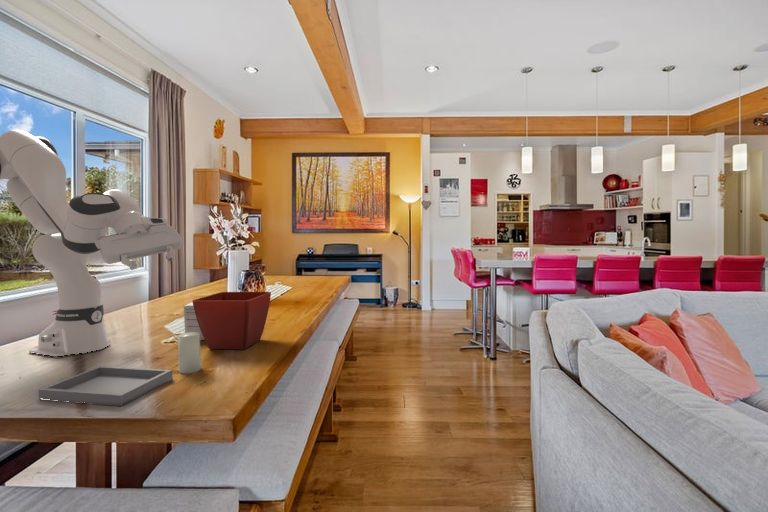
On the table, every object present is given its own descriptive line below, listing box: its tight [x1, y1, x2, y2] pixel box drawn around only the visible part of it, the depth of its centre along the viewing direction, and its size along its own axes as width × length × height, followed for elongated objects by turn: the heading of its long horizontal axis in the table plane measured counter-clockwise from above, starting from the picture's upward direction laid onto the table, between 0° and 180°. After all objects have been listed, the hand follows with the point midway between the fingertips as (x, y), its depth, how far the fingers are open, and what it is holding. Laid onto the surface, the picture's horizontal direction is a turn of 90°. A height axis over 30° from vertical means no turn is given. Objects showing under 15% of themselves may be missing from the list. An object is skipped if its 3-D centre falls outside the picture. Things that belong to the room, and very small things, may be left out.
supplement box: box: [183, 301, 205, 341], centre depth 143 cm, size 7×7×13 cm
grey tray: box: [37, 365, 173, 407], centre depth 96 cm, size 22×16×2 cm
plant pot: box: [191, 291, 272, 350], centre depth 133 cm, size 19×19×17 cm
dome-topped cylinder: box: [176, 332, 202, 374], centre depth 109 cm, size 6×6×10 cm
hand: (153, 263), depth 110 cm, fingers open, 8 cm apart
